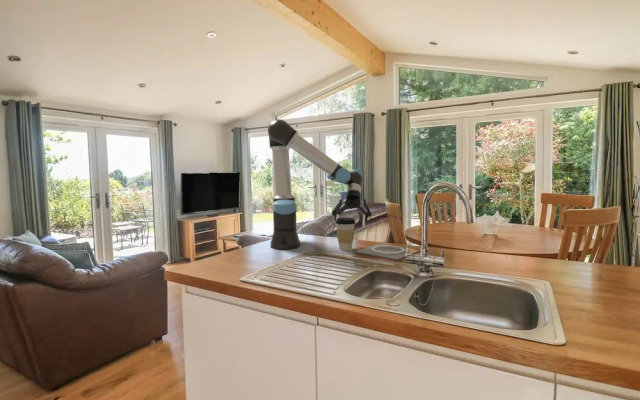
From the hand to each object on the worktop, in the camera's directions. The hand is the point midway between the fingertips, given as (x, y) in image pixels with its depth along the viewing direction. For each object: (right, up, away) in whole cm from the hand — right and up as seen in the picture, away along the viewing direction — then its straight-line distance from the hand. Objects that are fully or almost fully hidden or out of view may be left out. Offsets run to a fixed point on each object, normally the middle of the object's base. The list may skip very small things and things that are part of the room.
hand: (349, 226), depth 175 cm
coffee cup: (-2, -11, -3) cm, 12 cm away
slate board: (+17, -11, -9) cm, 23 cm away
